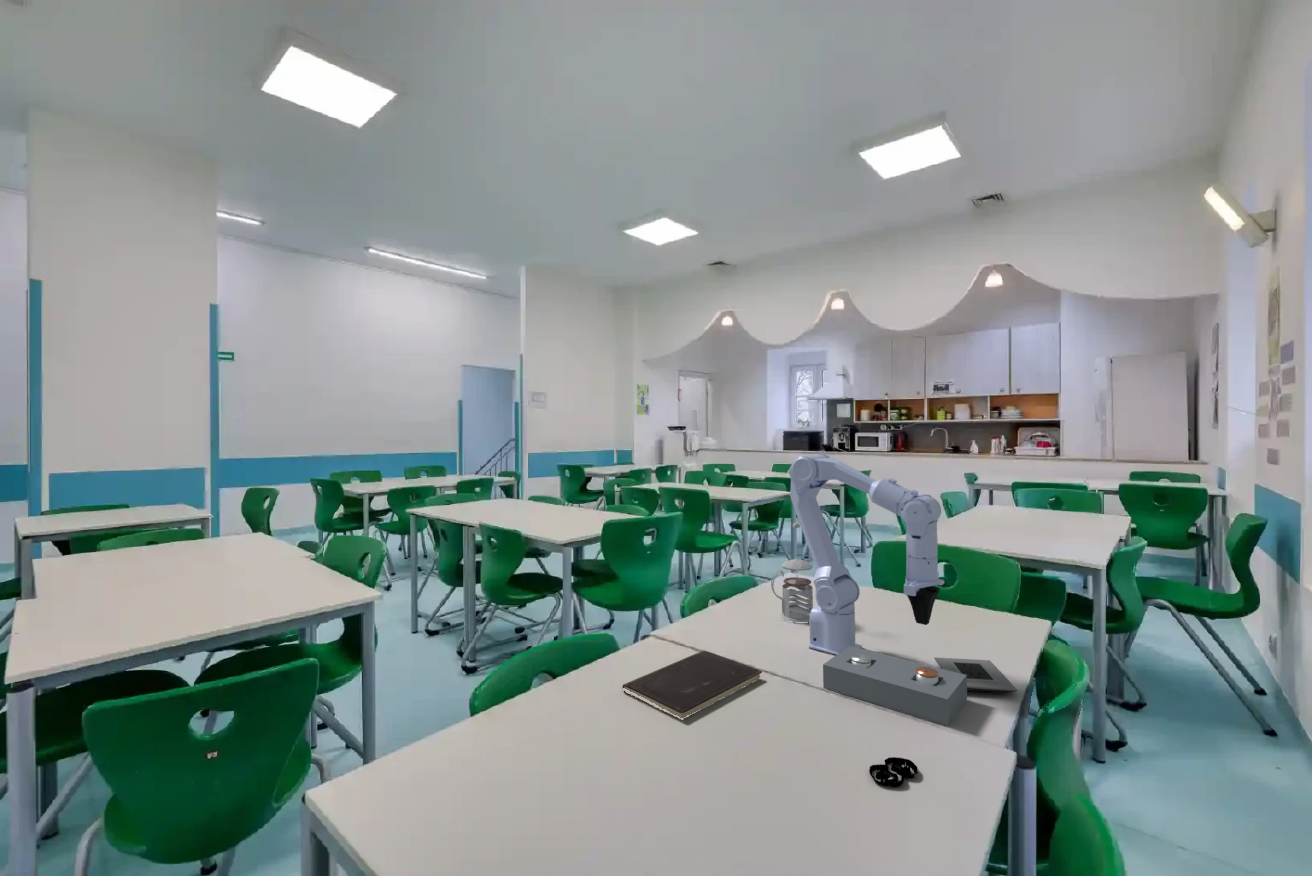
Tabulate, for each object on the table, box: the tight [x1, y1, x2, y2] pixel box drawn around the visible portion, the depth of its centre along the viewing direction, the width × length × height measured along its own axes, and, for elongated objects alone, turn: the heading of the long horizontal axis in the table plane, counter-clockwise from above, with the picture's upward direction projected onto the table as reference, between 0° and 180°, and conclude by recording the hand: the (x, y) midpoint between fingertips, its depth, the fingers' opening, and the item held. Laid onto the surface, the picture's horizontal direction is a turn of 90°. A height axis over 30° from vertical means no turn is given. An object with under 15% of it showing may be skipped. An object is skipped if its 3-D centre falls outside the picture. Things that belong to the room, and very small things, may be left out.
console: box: [822, 646, 968, 727], centre depth 106 cm, size 22×12×4 cm, turn 48°
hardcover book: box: [622, 649, 763, 718], centre depth 111 cm, size 16×23×2 cm
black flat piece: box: [868, 756, 918, 788], centre depth 81 cm, size 5×8×1 cm, turn 121°
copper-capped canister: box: [916, 667, 938, 686], centre depth 102 cm, size 4×4×5 cm
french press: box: [770, 522, 814, 622], centre depth 149 cm, size 10×12×25 cm
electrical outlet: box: [933, 657, 1018, 694], centre depth 110 cm, size 13×10×2 cm
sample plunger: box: [851, 654, 871, 668], centre depth 110 cm, size 4×4×5 cm
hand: (922, 623), depth 114 cm, fingers closed
